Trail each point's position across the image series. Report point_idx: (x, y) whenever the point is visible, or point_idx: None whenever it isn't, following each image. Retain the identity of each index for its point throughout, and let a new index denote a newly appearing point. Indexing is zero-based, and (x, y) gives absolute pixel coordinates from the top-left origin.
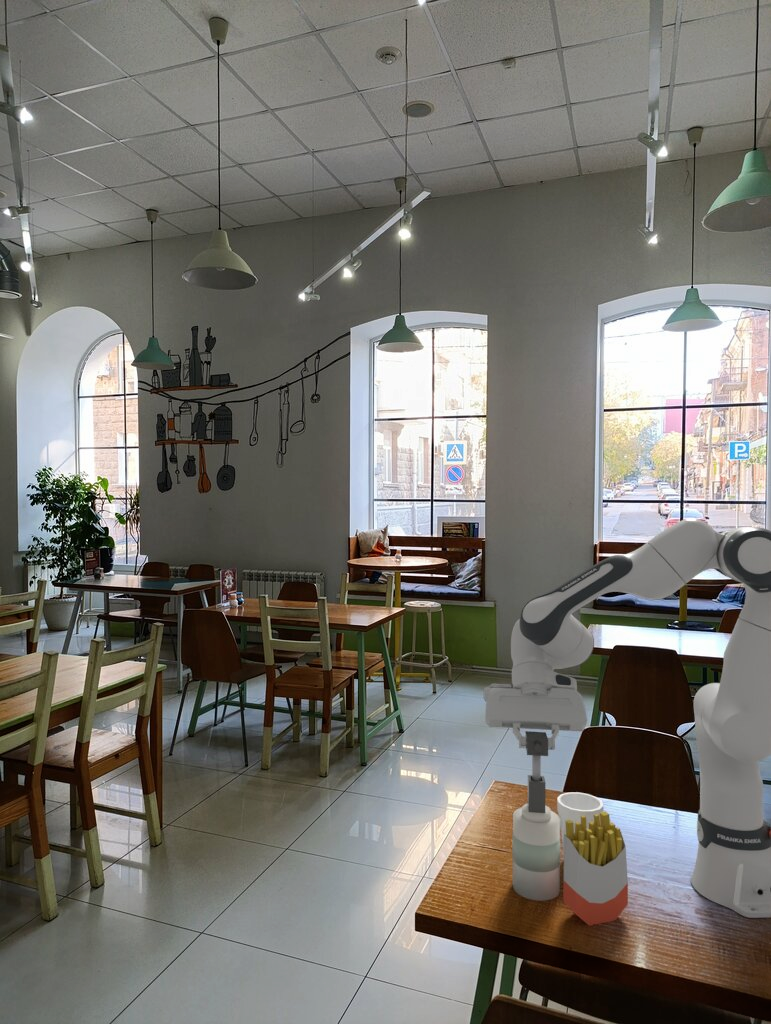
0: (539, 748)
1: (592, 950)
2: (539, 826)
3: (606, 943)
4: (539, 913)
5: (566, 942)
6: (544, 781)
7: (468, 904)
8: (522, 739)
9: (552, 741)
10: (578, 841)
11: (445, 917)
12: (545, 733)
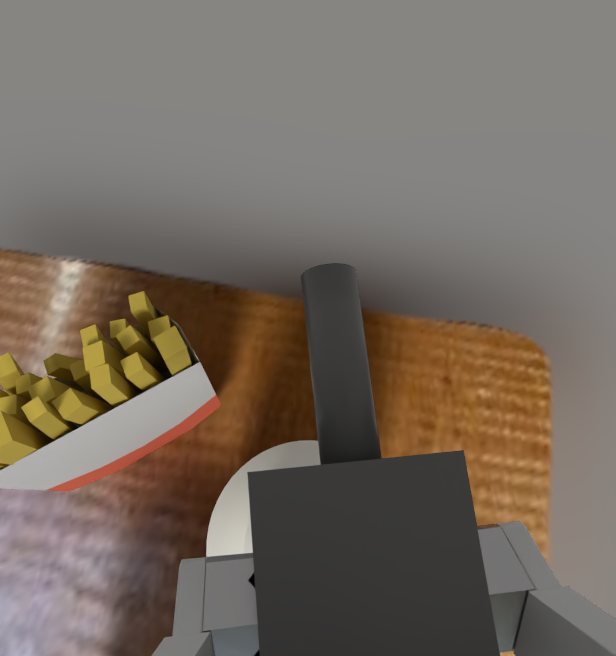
0: (331, 265)
1: (168, 291)
2: (294, 448)
3: (132, 322)
4: (284, 403)
5: (223, 306)
6: None
7: (460, 399)
8: (510, 557)
9: (200, 589)
10: (147, 345)
11: (500, 334)
12: None
